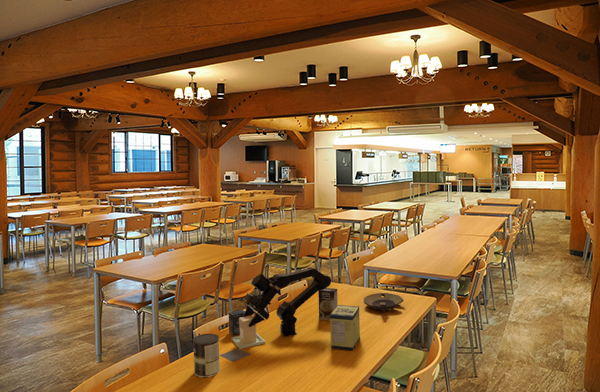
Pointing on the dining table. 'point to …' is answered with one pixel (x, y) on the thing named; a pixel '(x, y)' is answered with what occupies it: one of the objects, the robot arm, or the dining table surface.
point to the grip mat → (235, 354)
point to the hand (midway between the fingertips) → (245, 323)
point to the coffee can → (206, 355)
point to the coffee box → (327, 302)
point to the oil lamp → (383, 301)
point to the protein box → (345, 327)
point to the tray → (241, 345)
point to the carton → (247, 330)
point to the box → (235, 321)
